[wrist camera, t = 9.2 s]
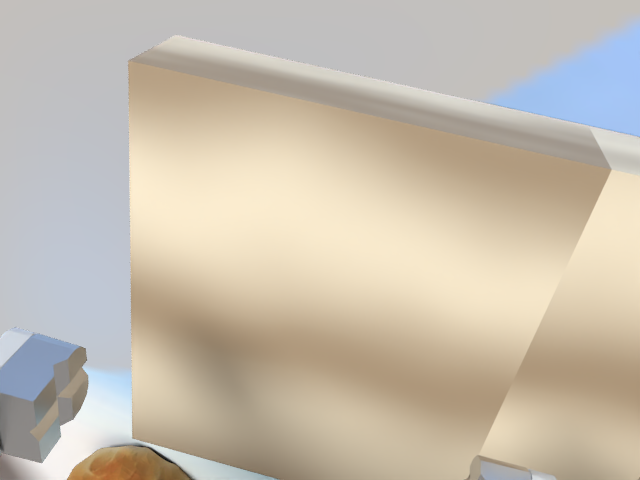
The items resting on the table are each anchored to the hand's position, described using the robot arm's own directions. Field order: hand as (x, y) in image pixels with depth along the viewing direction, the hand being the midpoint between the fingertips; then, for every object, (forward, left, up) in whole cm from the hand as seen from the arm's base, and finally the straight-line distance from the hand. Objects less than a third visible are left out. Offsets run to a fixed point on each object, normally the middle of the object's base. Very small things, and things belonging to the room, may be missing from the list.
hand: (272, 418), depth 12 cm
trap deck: (+1, +6, -6) cm, 9 cm away
